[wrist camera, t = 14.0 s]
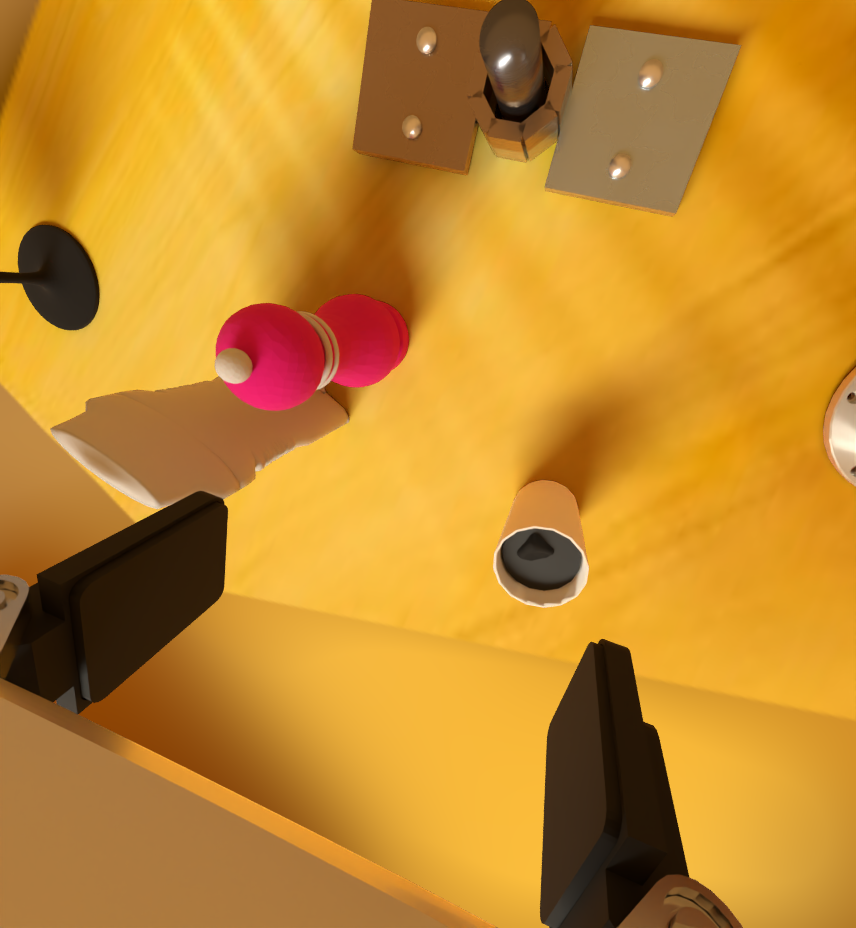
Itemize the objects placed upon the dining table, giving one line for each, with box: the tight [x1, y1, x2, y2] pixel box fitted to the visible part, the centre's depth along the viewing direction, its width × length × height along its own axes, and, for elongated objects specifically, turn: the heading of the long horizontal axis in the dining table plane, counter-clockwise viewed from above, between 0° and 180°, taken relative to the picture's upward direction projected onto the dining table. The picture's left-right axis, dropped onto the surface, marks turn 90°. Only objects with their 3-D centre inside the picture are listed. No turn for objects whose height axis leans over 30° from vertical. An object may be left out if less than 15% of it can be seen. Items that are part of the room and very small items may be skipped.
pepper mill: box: [215, 294, 409, 411], centre depth 31 cm, size 7×7×20 cm
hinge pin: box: [479, 0, 546, 123], centre depth 27 cm, size 3×3×10 cm
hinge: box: [353, 0, 741, 216], centre depth 30 cm, size 24×9×5 cm, turn 77°
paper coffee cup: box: [493, 480, 589, 608], centre depth 37 cm, size 7×7×10 cm
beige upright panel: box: [51, 376, 349, 509], centre depth 34 cm, size 11×4×22 cm, turn 60°
